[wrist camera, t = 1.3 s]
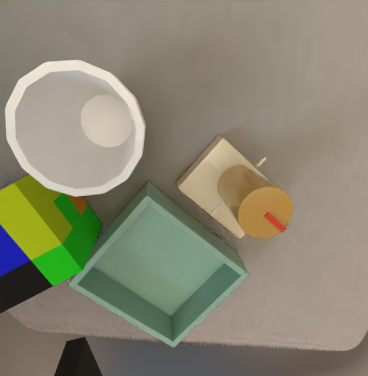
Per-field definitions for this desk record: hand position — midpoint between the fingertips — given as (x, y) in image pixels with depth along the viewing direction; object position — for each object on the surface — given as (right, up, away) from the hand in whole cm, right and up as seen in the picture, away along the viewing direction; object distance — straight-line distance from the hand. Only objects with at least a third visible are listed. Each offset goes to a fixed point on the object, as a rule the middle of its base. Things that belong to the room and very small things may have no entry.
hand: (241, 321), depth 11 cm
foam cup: (-11, +14, +20) cm, 26 cm away
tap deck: (+3, +6, +23) cm, 24 cm away
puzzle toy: (-20, +3, +22) cm, 30 cm away
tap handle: (+4, +6, +21) cm, 22 cm away
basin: (-6, -4, +26) cm, 27 cm away
